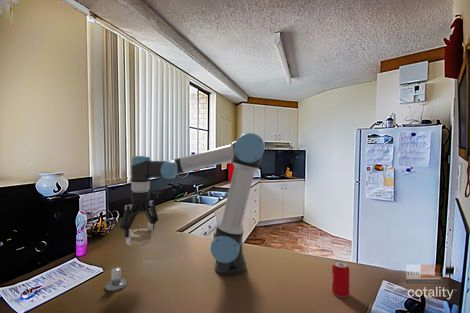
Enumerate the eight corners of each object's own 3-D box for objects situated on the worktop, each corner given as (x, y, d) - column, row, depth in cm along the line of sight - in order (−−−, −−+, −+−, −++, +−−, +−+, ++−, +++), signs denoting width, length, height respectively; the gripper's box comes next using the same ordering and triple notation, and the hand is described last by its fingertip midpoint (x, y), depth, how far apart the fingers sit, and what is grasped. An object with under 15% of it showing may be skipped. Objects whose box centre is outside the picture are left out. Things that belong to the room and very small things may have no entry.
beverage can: (344, 289, 100) (344, 260, 99) (352, 298, 93) (352, 267, 93) (329, 289, 99) (329, 260, 99) (336, 299, 93) (336, 267, 93)
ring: (156, 240, 110) (156, 232, 110) (136, 247, 102) (136, 238, 102) (143, 235, 116) (143, 227, 116) (123, 242, 108) (123, 232, 107)
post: (130, 284, 103) (130, 268, 103) (111, 293, 97) (111, 276, 97) (120, 278, 108) (119, 263, 108) (101, 287, 101) (101, 270, 101)
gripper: (156, 187, 119) (156, 232, 120) (110, 193, 101) (110, 246, 102) (166, 188, 115) (166, 235, 116) (120, 195, 97) (119, 251, 97)
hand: (139, 240), depth 109 cm, fingers closed on ring, 10 cm apart
